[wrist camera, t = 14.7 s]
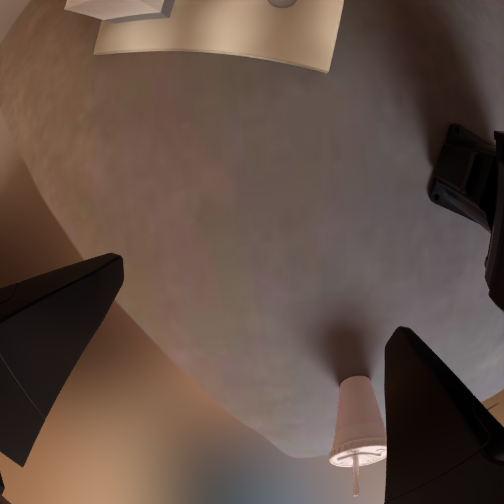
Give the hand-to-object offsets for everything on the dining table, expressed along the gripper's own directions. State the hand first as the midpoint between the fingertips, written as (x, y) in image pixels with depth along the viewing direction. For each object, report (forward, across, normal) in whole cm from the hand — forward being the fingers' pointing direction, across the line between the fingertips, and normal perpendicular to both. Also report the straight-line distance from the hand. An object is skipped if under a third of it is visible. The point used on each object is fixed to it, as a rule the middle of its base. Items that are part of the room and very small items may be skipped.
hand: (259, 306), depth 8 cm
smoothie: (+13, -14, +19) cm, 27 cm away
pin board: (+13, +8, -14) cm, 21 cm away
